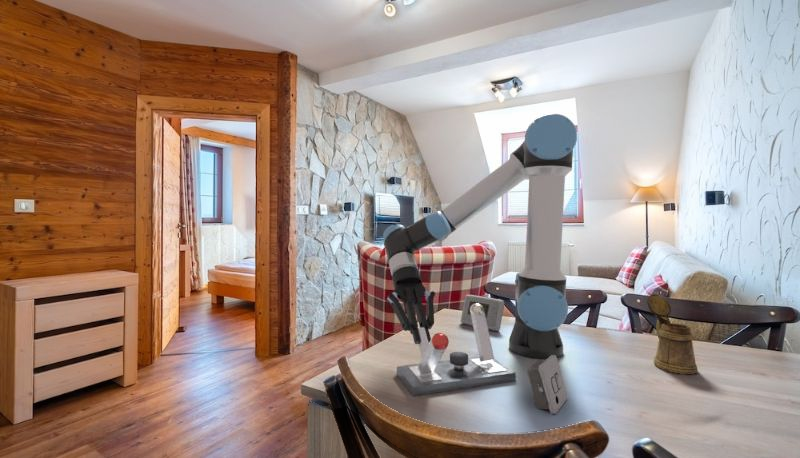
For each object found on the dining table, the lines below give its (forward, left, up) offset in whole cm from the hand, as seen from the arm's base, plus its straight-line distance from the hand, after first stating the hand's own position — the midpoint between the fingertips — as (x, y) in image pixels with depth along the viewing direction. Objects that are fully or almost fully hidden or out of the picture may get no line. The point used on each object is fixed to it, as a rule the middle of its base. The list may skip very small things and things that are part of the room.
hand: (426, 355), depth 86 cm
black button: (-8, -5, -3) cm, 10 cm away
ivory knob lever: (-16, -8, -4) cm, 18 cm away
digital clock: (-22, -50, -7) cm, 55 cm away
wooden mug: (-65, -16, -7) cm, 67 cm away
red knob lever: (0, -2, -4) cm, 5 cm away
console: (-7, -5, -7) cm, 11 cm away
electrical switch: (-25, +7, -7) cm, 27 cm away
